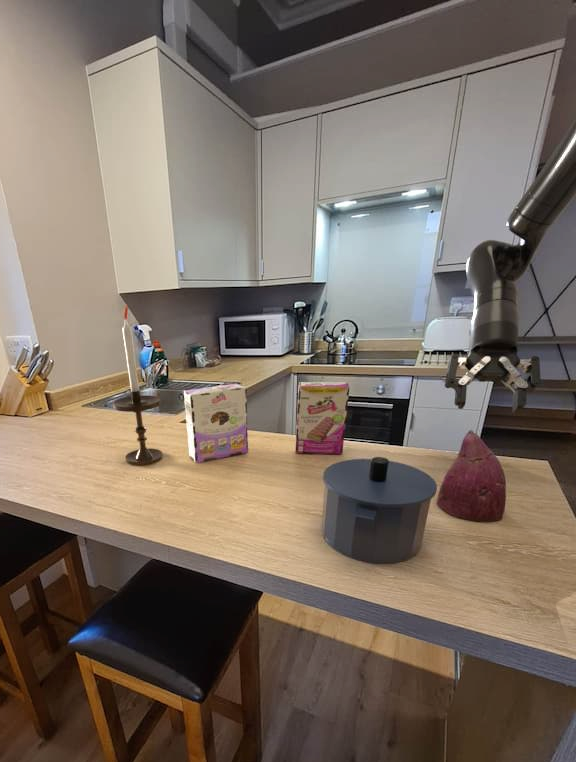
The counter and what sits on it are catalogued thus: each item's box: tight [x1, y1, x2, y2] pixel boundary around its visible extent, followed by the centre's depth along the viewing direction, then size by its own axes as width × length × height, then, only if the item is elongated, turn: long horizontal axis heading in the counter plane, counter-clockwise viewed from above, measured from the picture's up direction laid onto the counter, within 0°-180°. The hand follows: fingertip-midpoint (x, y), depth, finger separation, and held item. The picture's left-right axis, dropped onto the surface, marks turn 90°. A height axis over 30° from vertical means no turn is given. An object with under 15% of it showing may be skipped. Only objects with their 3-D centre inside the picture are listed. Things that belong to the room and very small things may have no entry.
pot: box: [320, 484, 432, 565], centre depth 60 cm, size 15×20×10 cm
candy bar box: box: [295, 381, 350, 455], centre depth 92 cm, size 11×5×16 cm, turn 80°
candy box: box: [183, 383, 249, 464], centre depth 93 cm, size 14×6×16 cm, turn 111°
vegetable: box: [436, 429, 507, 523], centre depth 67 cm, size 10×10×15 cm
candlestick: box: [112, 303, 164, 467], centre depth 90 cm, size 11×11×35 cm
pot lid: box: [322, 456, 438, 507], centre depth 58 cm, size 16×16×4 cm
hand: (488, 408), depth 70 cm, fingers open, 8 cm apart
